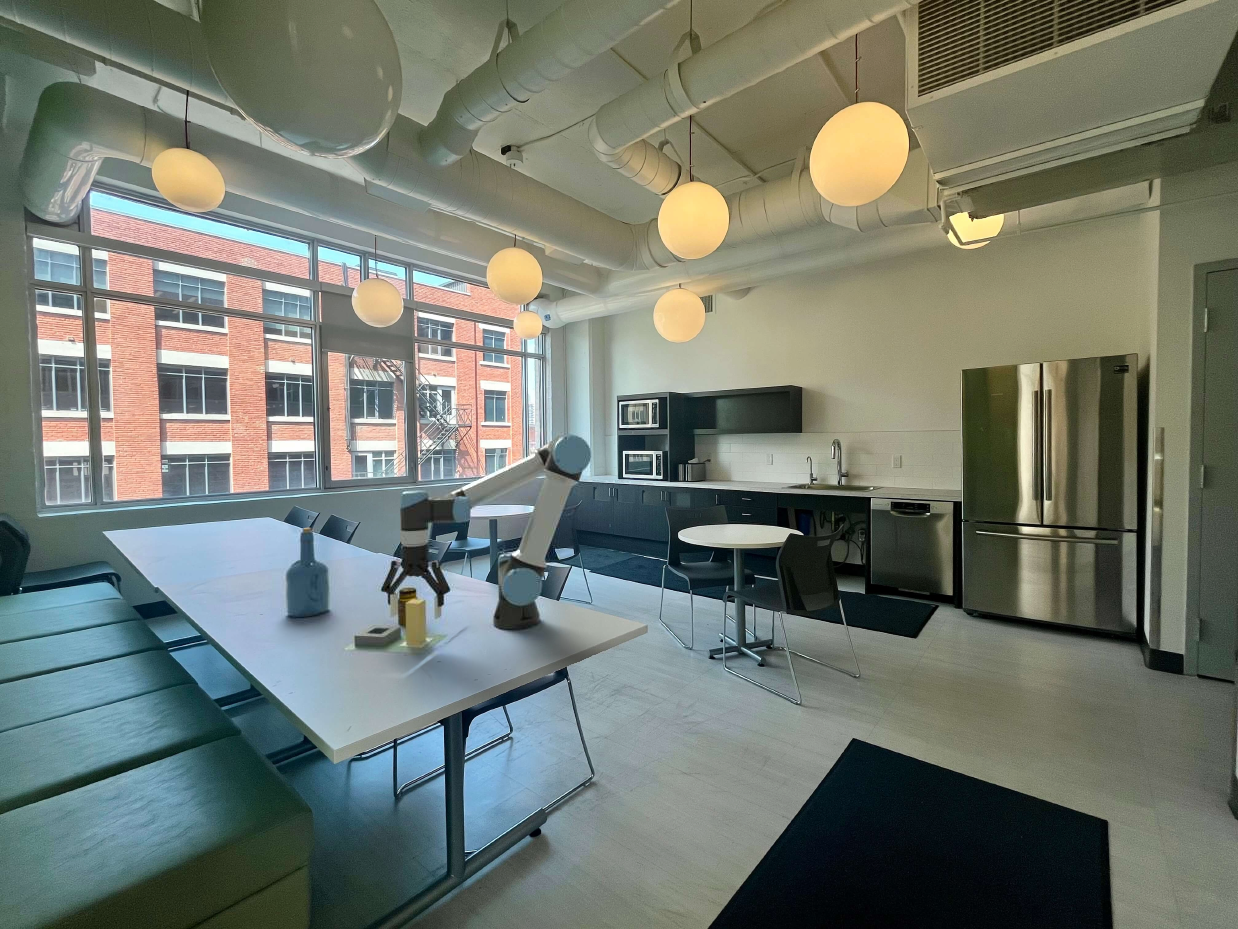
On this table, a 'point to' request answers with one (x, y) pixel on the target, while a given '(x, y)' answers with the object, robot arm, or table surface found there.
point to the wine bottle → (307, 582)
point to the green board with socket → (390, 640)
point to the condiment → (404, 603)
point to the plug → (415, 622)
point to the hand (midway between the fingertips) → (416, 616)
